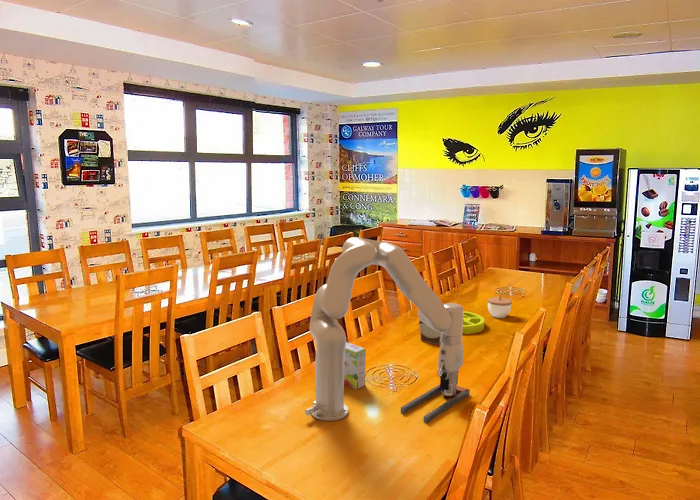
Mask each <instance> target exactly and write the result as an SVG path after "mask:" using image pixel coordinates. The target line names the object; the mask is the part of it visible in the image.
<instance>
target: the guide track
mask: <svg viewBox="0 0 700 500" xmlns="http://www.w3.org/2000/svg"><path fill="white" fill-rule="evenodd" d="M470 391H471V390H470V389H468V388H467V387H466V388H465V387H462V386H459V385H457V386H456V394H455V395H454V396H452V397H451V398H450V399H449V400H447V401H445V402H444V403H442V404H441V405H439V406H437V407H436V408H435V409H432V410H431V411H430V412H428V413H426V414H425V415H424V416H423V423H425V424H428V423H429V422H431V421H433V420H434V419H435V418H437V417H439V416H440V415H442V414H443V413H444V412H446V411H447V410H449V409H451V408H452V407H454V406H455V405H456V404H458V403H460V402H461V401H462V400H464V399H465V398H467V397H469V396H470ZM439 393H441V388H440V384H438V385H436V386H435V387H433V388H431V389H430V390H428V391H426V392H424V393H422V394H421V395H420V396H418V397H416V398H414V399H412V400H411V401H409V402H407V403H406V404H404V405H402V406H401V407H400V414H403V415H404V414H406V413H408V412H410V411H411V410H412V409H414V408H417V406H419V405H421V404H423V403H424V402H425V401H427V400H429V399H431V398H432V397H434V396H435V395H437V394H439Z"/></svg>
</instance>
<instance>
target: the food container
mask: <svg viewBox="0 0 700 500" xmlns="http://www.w3.org/2000/svg"><path fill="white" fill-rule="evenodd" d="M418 325H419V330H420V331H419V332H420V341H421V342H426V343H430V344H435V345H439V346H440V344H441V342H440V336H441V332H438V331H435V330H433V329H432V328H431V327H429V326H428V325H426V324H425V323H423V322H422V321H421V320H420V319H419V321H418Z"/></svg>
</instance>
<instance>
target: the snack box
mask: <svg viewBox="0 0 700 500" xmlns="http://www.w3.org/2000/svg"><path fill="white" fill-rule="evenodd" d="M366 364H367V363H366V348H365V347H362V346H359V345H356V344H354V343H350V342H347V341H346V347H345V353H344V386H347V387H349V388H351V389H354V390H359V389H360V388H361V389H362V388H363V387H365V386H366Z"/></svg>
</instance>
